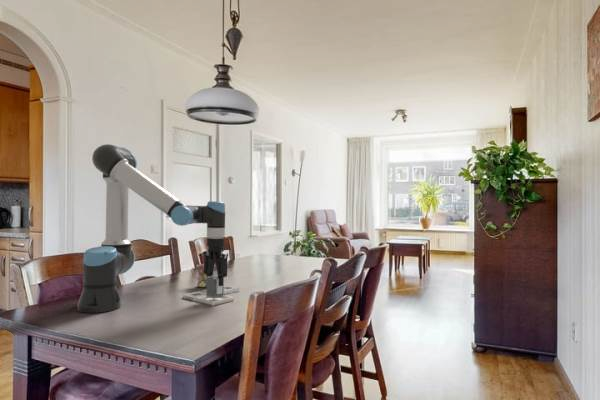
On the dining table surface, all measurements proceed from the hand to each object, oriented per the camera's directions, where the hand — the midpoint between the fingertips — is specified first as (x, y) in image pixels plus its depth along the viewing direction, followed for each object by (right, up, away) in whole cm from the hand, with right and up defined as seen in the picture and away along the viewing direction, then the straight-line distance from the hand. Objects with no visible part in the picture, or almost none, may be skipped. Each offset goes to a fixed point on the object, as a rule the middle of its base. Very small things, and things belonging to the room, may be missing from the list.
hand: (214, 292), depth 170 cm
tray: (0, -4, 0) cm, 4 cm away
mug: (-12, -4, +29) cm, 32 cm away
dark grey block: (0, -2, 0) cm, 2 cm away
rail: (-4, -4, +12) cm, 13 cm away
